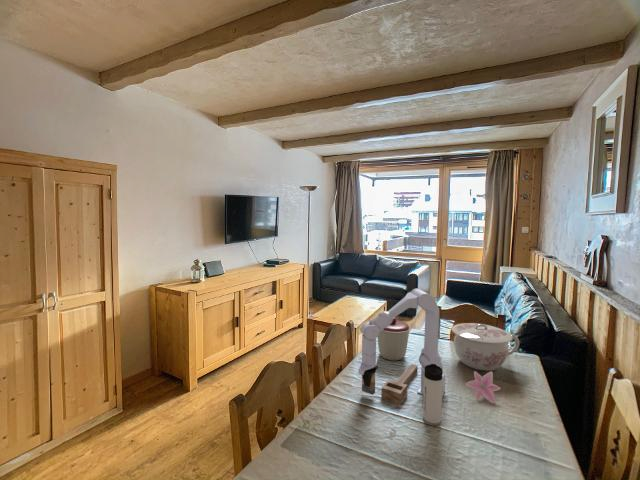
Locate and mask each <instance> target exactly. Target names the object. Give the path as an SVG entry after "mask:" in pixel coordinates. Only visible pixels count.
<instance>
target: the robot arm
mask: <svg viewBox="0 0 640 480" xmlns="http://www.w3.org/2000/svg"><path fill="white" fill-rule="evenodd" d="M419 307H420V308H421V309H422V310H423V311H424V312H425V314H424V316H425V317H424V338H423V339H424V340H423V348H421V351H420V355H419V357H418V362H419V364H420V365H421V366H420V368H421V369H420V370H421V374H420V387H419V389H418V390H417V394H420V395H423V396H424V373H425V366H427V365H431V364H436V365H437V366H439V367H440V368H442V370H444V369H443V368H444V367H443V364H442V358H441V356H440V353H439V351H438V350H439V349H438V348H439V347H438V346H439V329H440V328H439V325H440V324H439V323H440V322H439V321H440V308H439V305H438V304H437V302H436V298H435V297H434V296H433V295H432V294H430V293H428V292H425V291H424V290H422V289H420V288H413V289H412V290H411V291H408V292H407V293H406V294H405V296H404V297H403V298H402V299H400V300H399V302H397V303H396V304H395V305H393V306H392V307H391V308H390V309H389V310H387V311H386V310H383V311H379V312H378V313H377V315H376V316H375V317H374V318H372V319H369V320H368V321H366V322H364V323H362V324H361V326H360V328H359V330H360V332H361V334H362V336H361V359H360V360H359V361H358V362H359V364H360V366H359V368H358V372H357V373H358V375H361V378H362V377H363V381H364V385H365V386H368V387H369V386H370V383H371V377H372V374H373V373H374V374H375V375H376V373H377V370H378V368H379V366H378V365H377V363H378V362H379V356H377V339H378V334H379V332H380V331H382V330H383V329H384V328H386V327H387V326H388V325H390V324H391V323H392V320H393V318H397V317H398V316H400V314H402V313H403V312H405V311H407V310H409V309H419ZM442 378H443V379H442V397H443V396H444V394H445V393H446V376H445V374H443V375H442Z"/></svg>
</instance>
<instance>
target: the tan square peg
mask: <svg viewBox="0 0 640 480" xmlns="http://www.w3.org/2000/svg"><path fill="white" fill-rule="evenodd" d="M361 391H362V392H364V393H366V394H369V395H372V396H373V395H374V394H375V393H376V373H375V374H374V373H373V374H372V377H371V383H370V386H369V387H368V386H365V385H364V381H363V377H362V376H361Z"/></svg>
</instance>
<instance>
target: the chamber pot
mask: <svg viewBox="0 0 640 480" xmlns="http://www.w3.org/2000/svg"><path fill="white" fill-rule="evenodd" d="M451 332H452V333H453V334H455V336H454V337H453V344H454V350H455V353H456V355H457V357H458V359H459V360H460V362H461V363H463V364H464V365H465V366H467V367H469V368H471V369H475V370H479V371H483V372H484V371H485V372H486V371H489V372H493V371H496V370H498V369H500V367H502V366H503V364H504V363H506V360H507V358H508V357H509V356H510V355H512V354H513V353H515V352H516V351H517V350H518V349H519V346H520V340H519V338H518V337H517V335H515V334H514V333H510V332H508V331H506V330H505V329H502V328H499V327H497V326H493V325H489V324H484V323H477V322H476V323H475V322H463V323H458V324H454V325H453V326H452V327H451ZM513 340H514V345H513V347H511V348H510V345H509V343H510V342H511V341H513ZM509 348H510V349H509Z"/></svg>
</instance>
